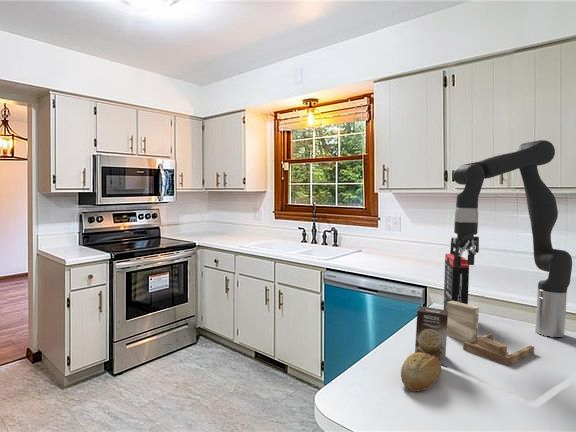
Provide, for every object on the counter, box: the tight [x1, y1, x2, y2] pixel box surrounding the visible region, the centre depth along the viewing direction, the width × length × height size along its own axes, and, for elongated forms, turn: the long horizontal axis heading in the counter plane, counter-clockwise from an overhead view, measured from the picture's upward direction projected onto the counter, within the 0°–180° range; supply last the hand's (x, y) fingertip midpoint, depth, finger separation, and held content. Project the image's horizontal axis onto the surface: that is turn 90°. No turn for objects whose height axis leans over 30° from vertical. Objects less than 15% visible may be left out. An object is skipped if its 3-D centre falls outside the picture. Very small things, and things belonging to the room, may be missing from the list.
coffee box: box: [414, 305, 448, 367], centre depth 118 cm, size 9×6×16 cm
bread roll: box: [400, 352, 442, 392], centre depth 103 cm, size 10×15×8 cm, turn 143°
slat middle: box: [474, 344, 509, 356], centre depth 121 cm, size 4×9×2 cm, turn 35°
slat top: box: [477, 337, 508, 353], centre depth 121 cm, size 4×8×2 cm, turn 21°
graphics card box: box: [443, 253, 470, 310], centre depth 160 cm, size 17×7×27 cm, turn 168°
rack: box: [462, 332, 535, 367], centre depth 124 cm, size 17×14×4 cm
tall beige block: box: [447, 301, 480, 342], centre depth 135 cm, size 4×10×13 cm, turn 35°
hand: (464, 265), depth 134 cm, fingers open, 8 cm apart
